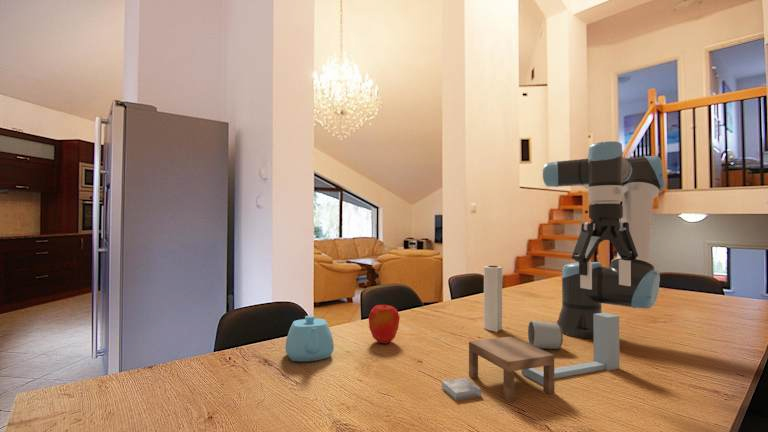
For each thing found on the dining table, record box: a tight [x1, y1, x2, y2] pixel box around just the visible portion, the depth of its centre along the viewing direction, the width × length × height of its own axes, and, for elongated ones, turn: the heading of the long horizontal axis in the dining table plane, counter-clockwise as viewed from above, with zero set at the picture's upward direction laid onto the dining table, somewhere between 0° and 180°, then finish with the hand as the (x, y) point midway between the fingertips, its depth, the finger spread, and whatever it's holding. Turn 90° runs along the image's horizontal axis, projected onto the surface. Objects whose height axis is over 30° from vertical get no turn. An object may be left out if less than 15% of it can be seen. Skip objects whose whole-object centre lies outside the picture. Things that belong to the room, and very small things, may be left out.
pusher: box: [521, 312, 620, 387], centre depth 92 cm, size 26×7×13 cm, turn 111°
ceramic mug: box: [527, 320, 564, 350], centre depth 111 cm, size 11×8×8 cm
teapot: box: [285, 314, 334, 362], centre depth 101 cm, size 13×11×18 cm
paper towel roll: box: [483, 265, 503, 333], centre depth 129 cm, size 7×6×21 cm
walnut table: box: [468, 336, 555, 403], centre depth 85 cm, size 12×14×8 cm
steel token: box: [441, 377, 482, 401], centre depth 80 cm, size 6×6×2 cm
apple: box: [368, 303, 401, 344], centre depth 113 cm, size 9×9×12 cm
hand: (605, 287), depth 96 cm, fingers open, 13 cm apart
